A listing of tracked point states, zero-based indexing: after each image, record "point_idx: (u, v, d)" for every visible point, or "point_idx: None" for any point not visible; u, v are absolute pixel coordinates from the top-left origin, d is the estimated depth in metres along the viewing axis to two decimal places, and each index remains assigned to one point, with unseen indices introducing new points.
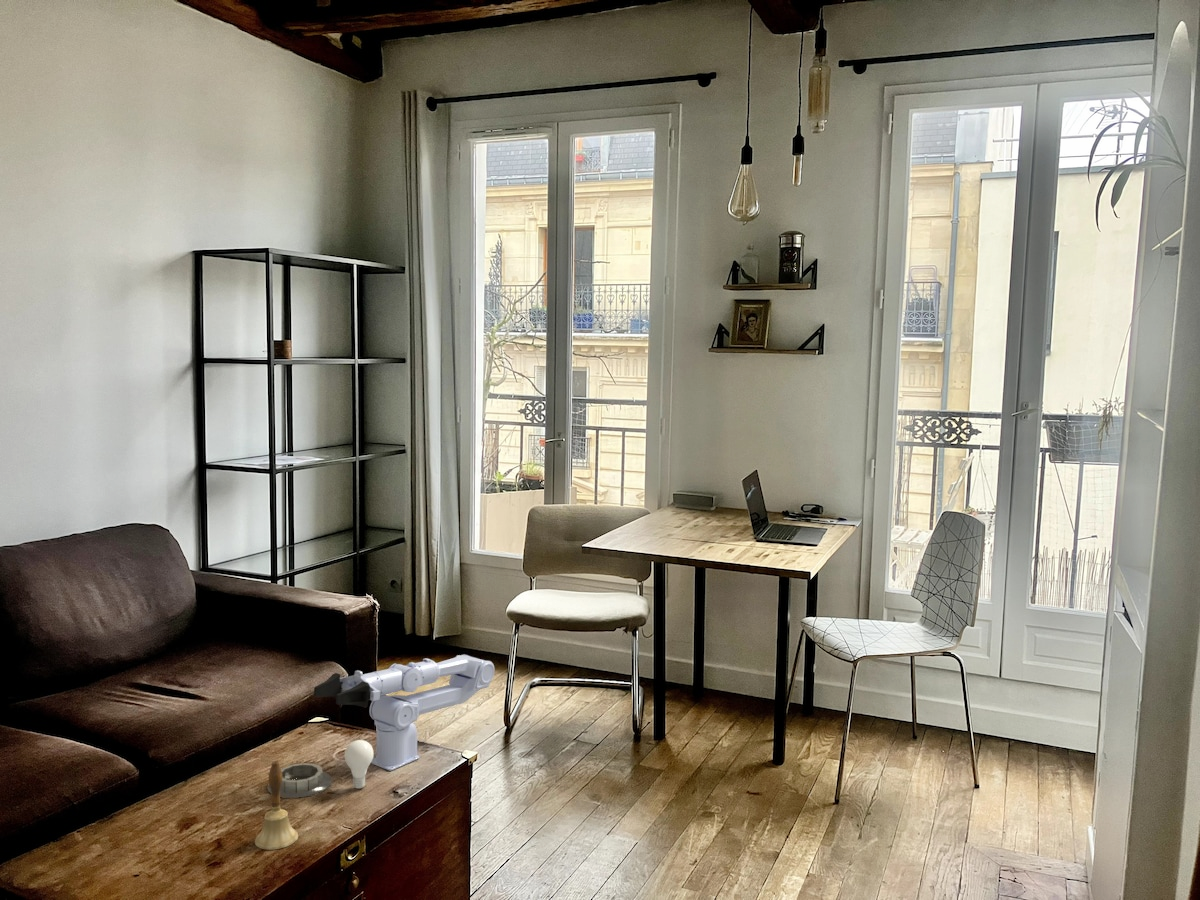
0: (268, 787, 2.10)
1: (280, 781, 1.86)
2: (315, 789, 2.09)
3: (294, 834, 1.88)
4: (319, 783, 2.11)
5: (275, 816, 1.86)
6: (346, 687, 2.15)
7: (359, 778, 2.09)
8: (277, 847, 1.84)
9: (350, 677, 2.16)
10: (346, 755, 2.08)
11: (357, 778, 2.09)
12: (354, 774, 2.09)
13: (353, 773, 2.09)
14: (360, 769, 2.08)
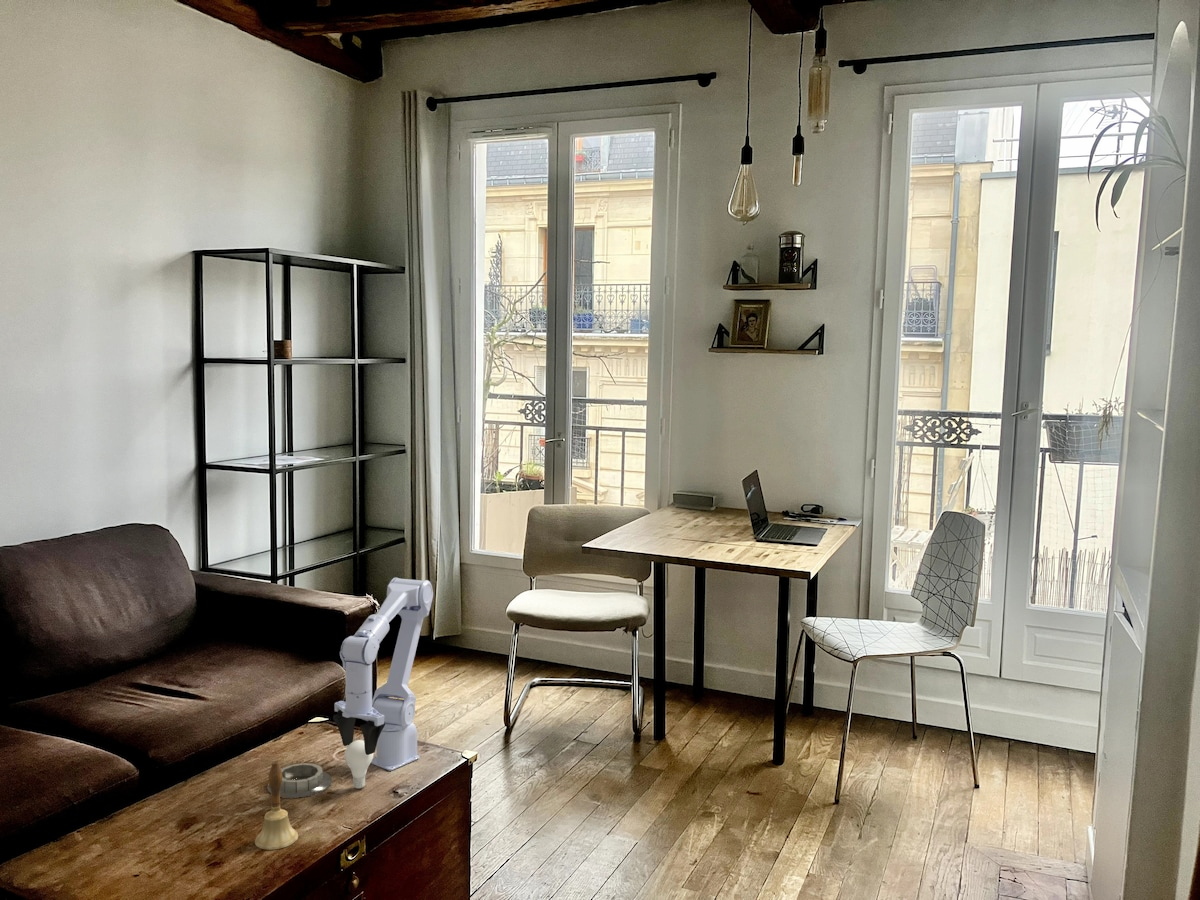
0: (268, 787, 2.10)
1: (280, 781, 1.86)
2: (315, 789, 2.09)
3: (294, 834, 1.88)
4: (319, 783, 2.11)
5: (275, 816, 1.86)
6: None
7: (359, 778, 2.09)
8: (277, 847, 1.84)
9: None
10: (346, 755, 2.08)
11: (357, 778, 2.09)
12: (354, 774, 2.09)
13: (353, 773, 2.09)
14: (360, 769, 2.08)
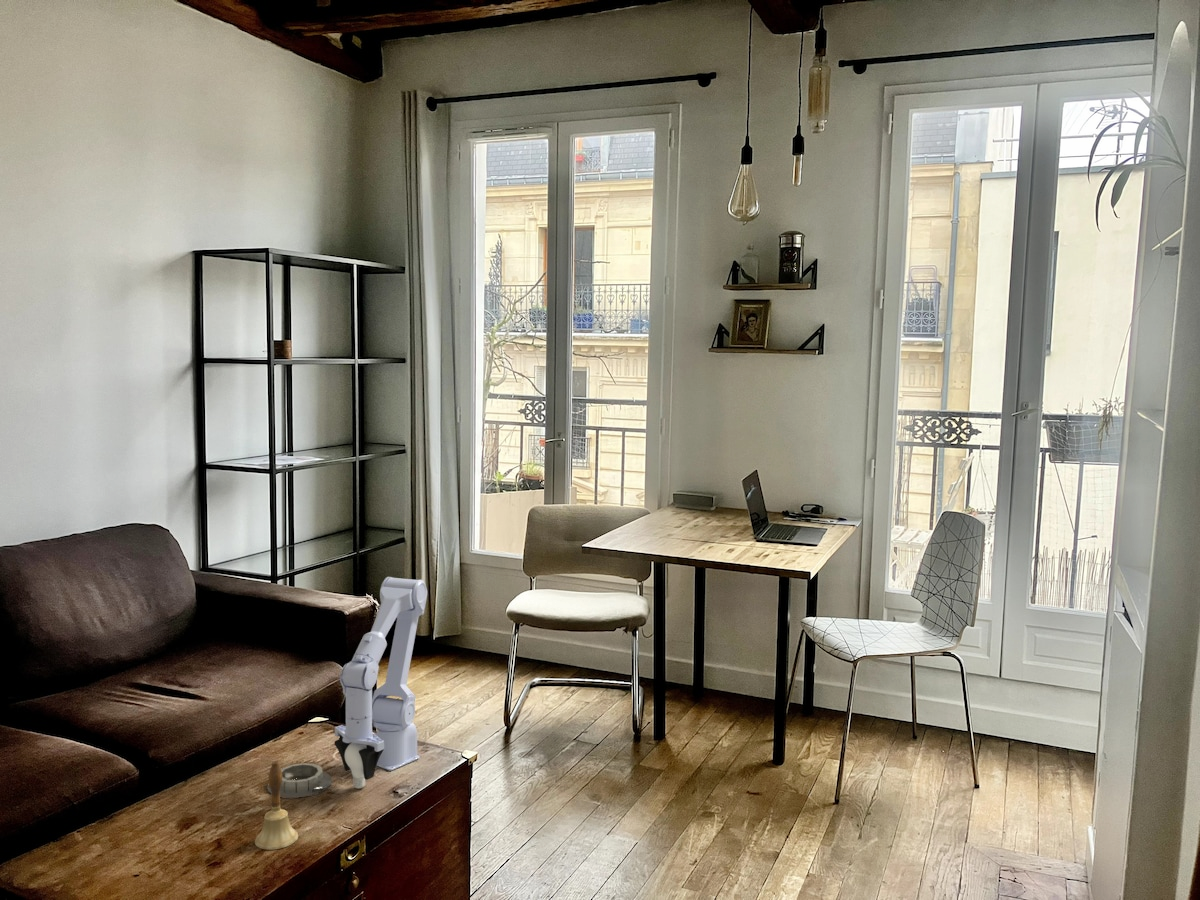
0: (268, 787, 2.10)
1: (280, 781, 1.86)
2: (315, 789, 2.09)
3: (294, 834, 1.88)
4: (319, 783, 2.11)
5: (275, 816, 1.86)
6: None
7: (359, 778, 2.09)
8: (277, 847, 1.84)
9: None
10: (346, 755, 2.08)
11: (357, 778, 2.09)
12: (354, 774, 2.09)
13: (353, 773, 2.09)
14: (360, 769, 2.08)
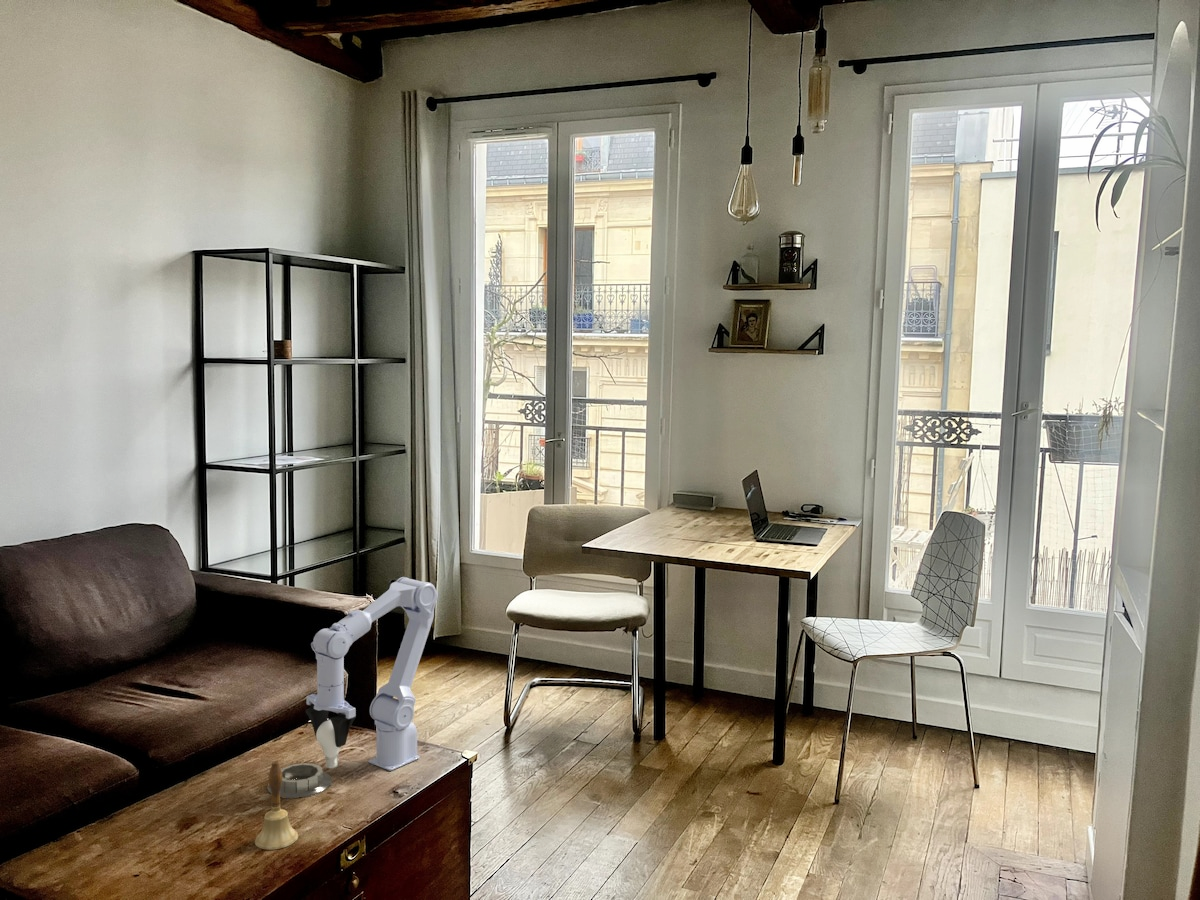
0: (268, 787, 2.10)
1: (280, 781, 1.86)
2: (315, 789, 2.09)
3: (294, 834, 1.88)
4: (319, 783, 2.11)
5: (275, 816, 1.86)
6: None
7: (331, 758, 2.09)
8: (277, 847, 1.84)
9: None
10: (317, 734, 2.08)
11: (329, 758, 2.09)
12: (326, 753, 2.09)
13: (325, 752, 2.09)
14: (331, 748, 2.08)
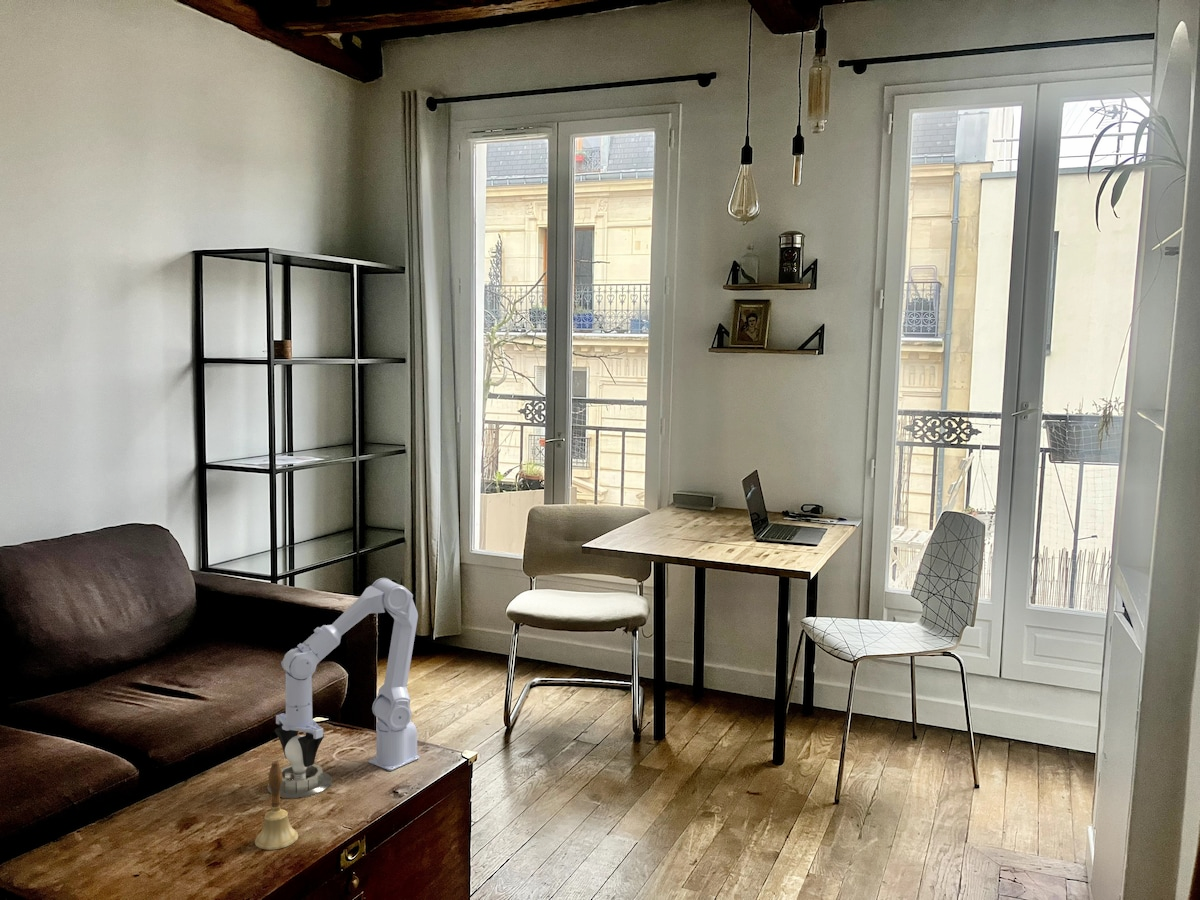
0: (268, 787, 2.10)
1: (280, 781, 1.86)
2: (315, 789, 2.09)
3: (294, 834, 1.88)
4: (319, 783, 2.11)
5: (275, 816, 1.86)
6: None
7: (298, 773, 2.10)
8: (277, 847, 1.84)
9: None
10: (285, 749, 2.10)
11: (297, 773, 2.10)
12: (293, 769, 2.10)
13: (292, 767, 2.10)
14: (298, 764, 2.09)
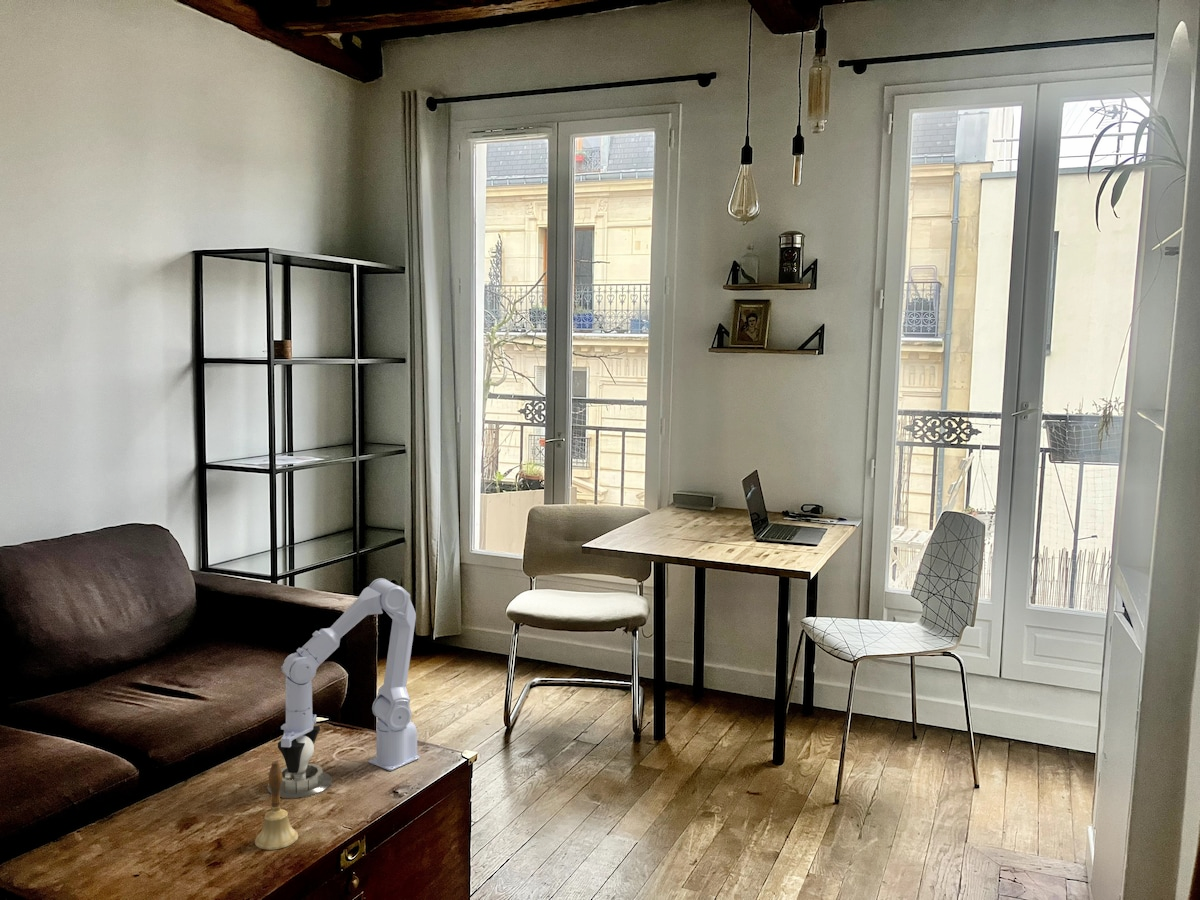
0: (268, 787, 2.10)
1: (280, 781, 1.86)
2: (315, 789, 2.09)
3: (294, 834, 1.88)
4: (319, 783, 2.11)
5: (275, 816, 1.86)
6: None
7: (298, 773, 2.10)
8: (277, 847, 1.84)
9: None
10: None
11: (297, 773, 2.10)
12: None
13: None
14: None
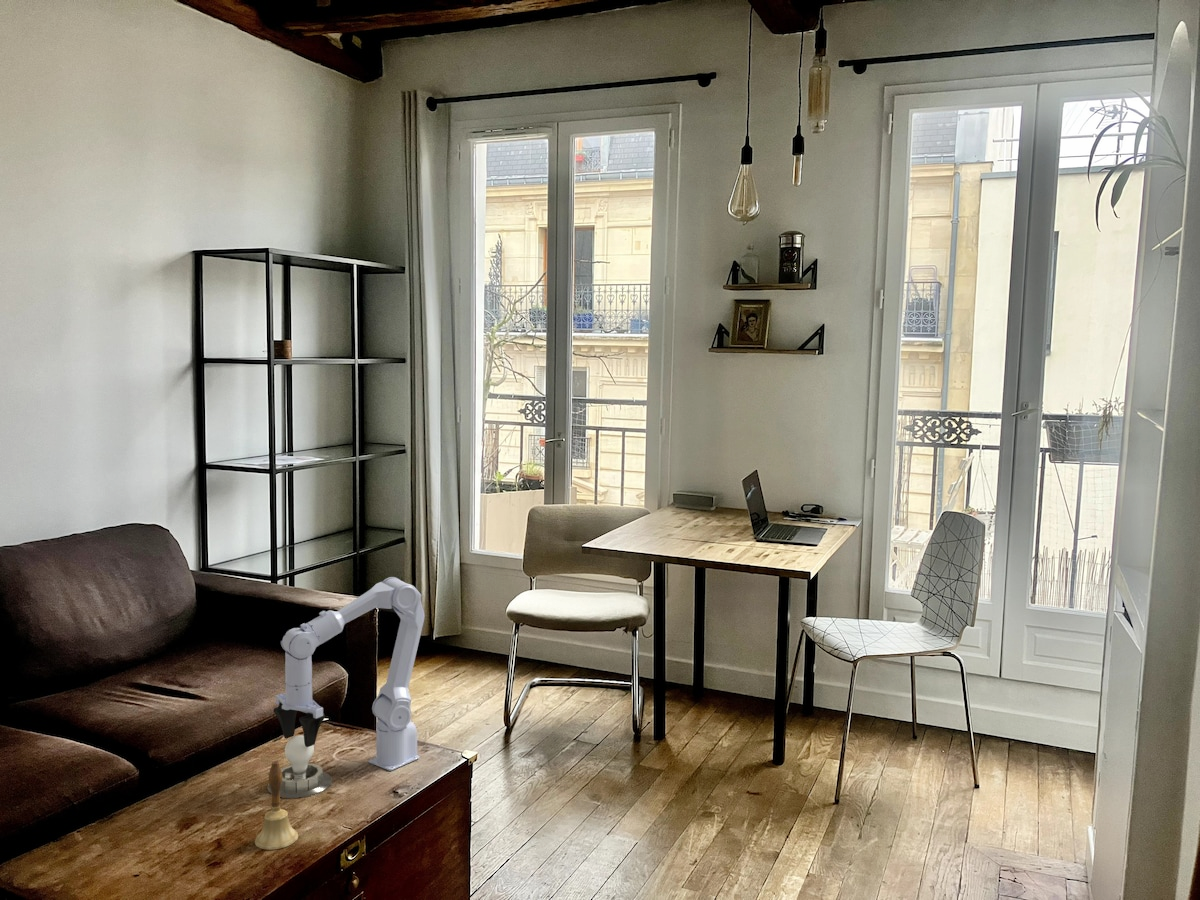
0: (268, 787, 2.10)
1: (280, 781, 1.86)
2: (315, 789, 2.09)
3: (294, 834, 1.88)
4: (319, 783, 2.11)
5: (275, 816, 1.86)
6: None
7: (303, 772, 2.11)
8: (277, 847, 1.84)
9: None
10: (293, 752, 2.08)
11: (302, 772, 2.11)
12: (299, 769, 2.10)
13: (298, 768, 2.10)
14: (306, 762, 2.10)
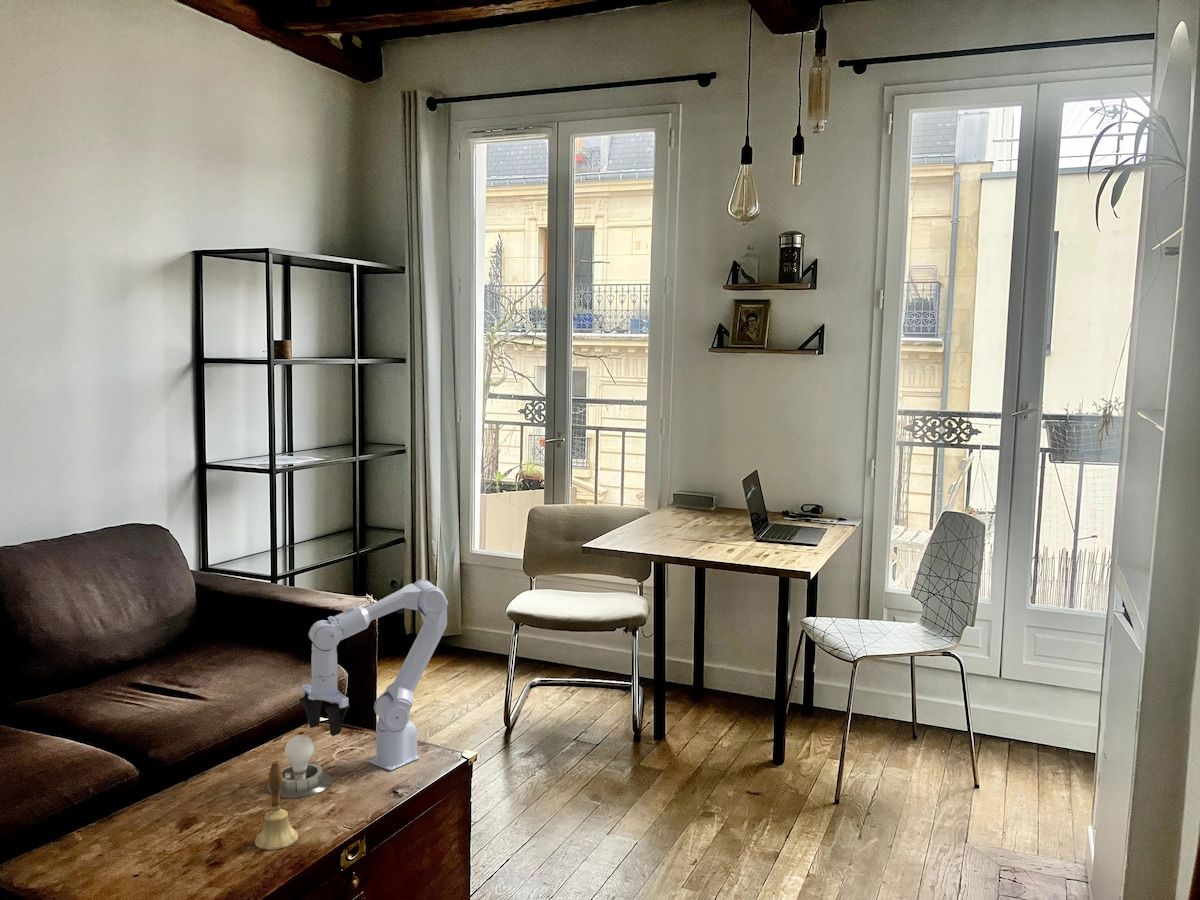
0: (268, 787, 2.10)
1: (280, 781, 1.86)
2: (315, 789, 2.09)
3: (294, 834, 1.88)
4: (319, 783, 2.11)
5: (275, 816, 1.86)
6: None
7: (303, 772, 2.11)
8: (277, 847, 1.84)
9: None
10: (293, 752, 2.08)
11: (302, 772, 2.11)
12: (299, 769, 2.10)
13: (298, 768, 2.10)
14: (306, 762, 2.10)
